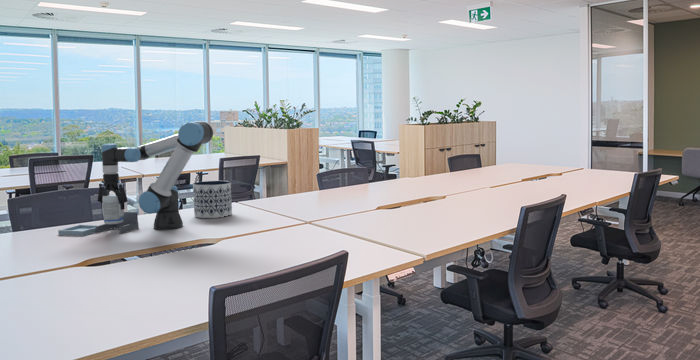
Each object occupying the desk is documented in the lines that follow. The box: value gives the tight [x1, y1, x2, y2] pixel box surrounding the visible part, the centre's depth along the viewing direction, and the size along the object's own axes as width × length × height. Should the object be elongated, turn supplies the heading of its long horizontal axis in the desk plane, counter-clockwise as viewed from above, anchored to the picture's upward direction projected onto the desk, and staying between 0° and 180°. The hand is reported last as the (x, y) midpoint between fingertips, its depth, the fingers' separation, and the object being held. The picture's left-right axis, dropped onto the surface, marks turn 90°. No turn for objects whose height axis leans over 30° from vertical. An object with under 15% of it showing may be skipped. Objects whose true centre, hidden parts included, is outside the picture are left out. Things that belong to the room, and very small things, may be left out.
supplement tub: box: [102, 194, 124, 224], centre depth 281 cm, size 10×10×15 cm
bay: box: [95, 211, 139, 235], centre depth 284 cm, size 14×15×9 cm
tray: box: [57, 224, 99, 237], centre depth 281 cm, size 15×15×2 cm
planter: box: [192, 180, 233, 219], centre depth 325 cm, size 22×22×20 cm
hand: (113, 215), depth 282 cm, fingers closed on supplement tub, 10 cm apart
